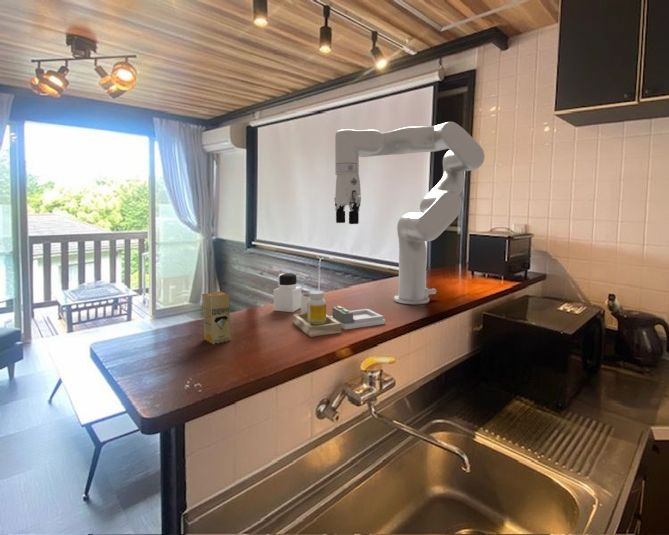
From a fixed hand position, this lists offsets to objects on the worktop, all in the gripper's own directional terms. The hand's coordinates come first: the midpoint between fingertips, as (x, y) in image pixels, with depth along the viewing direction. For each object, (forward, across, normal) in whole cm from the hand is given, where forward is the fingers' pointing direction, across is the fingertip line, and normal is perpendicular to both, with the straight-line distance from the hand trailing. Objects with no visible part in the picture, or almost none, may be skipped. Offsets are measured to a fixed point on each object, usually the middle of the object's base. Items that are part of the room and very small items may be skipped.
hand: (346, 223), depth 132 cm
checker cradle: (+28, -17, +5) cm, 33 cm away
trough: (+28, -17, +18) cm, 38 cm away
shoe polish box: (+28, -16, +45) cm, 56 cm away
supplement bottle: (+28, -17, +18) cm, 37 cm away
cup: (+28, -6, +15) cm, 33 cm away
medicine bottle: (+28, +6, +19) cm, 35 cm away
